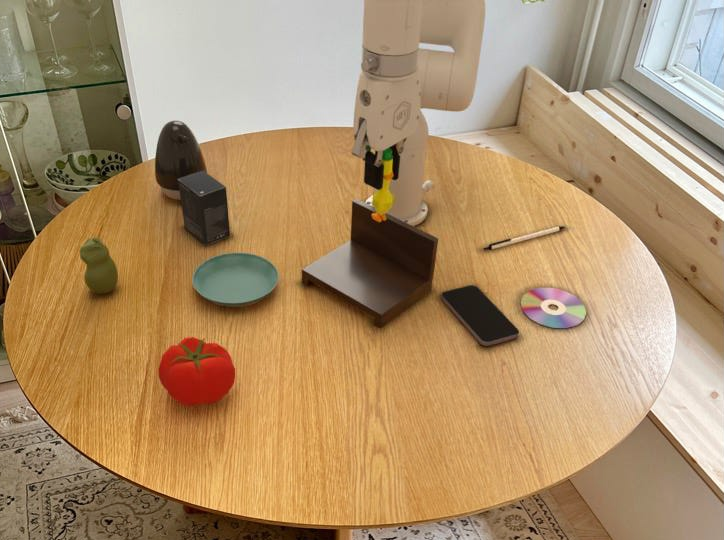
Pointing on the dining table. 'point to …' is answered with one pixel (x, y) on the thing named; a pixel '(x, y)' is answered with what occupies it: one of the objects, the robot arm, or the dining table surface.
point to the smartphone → (479, 315)
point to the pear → (98, 266)
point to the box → (204, 207)
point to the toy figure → (384, 189)
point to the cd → (564, 317)
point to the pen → (522, 238)
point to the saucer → (235, 279)
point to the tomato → (196, 372)
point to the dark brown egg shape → (176, 157)
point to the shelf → (377, 265)
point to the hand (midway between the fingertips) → (381, 180)
